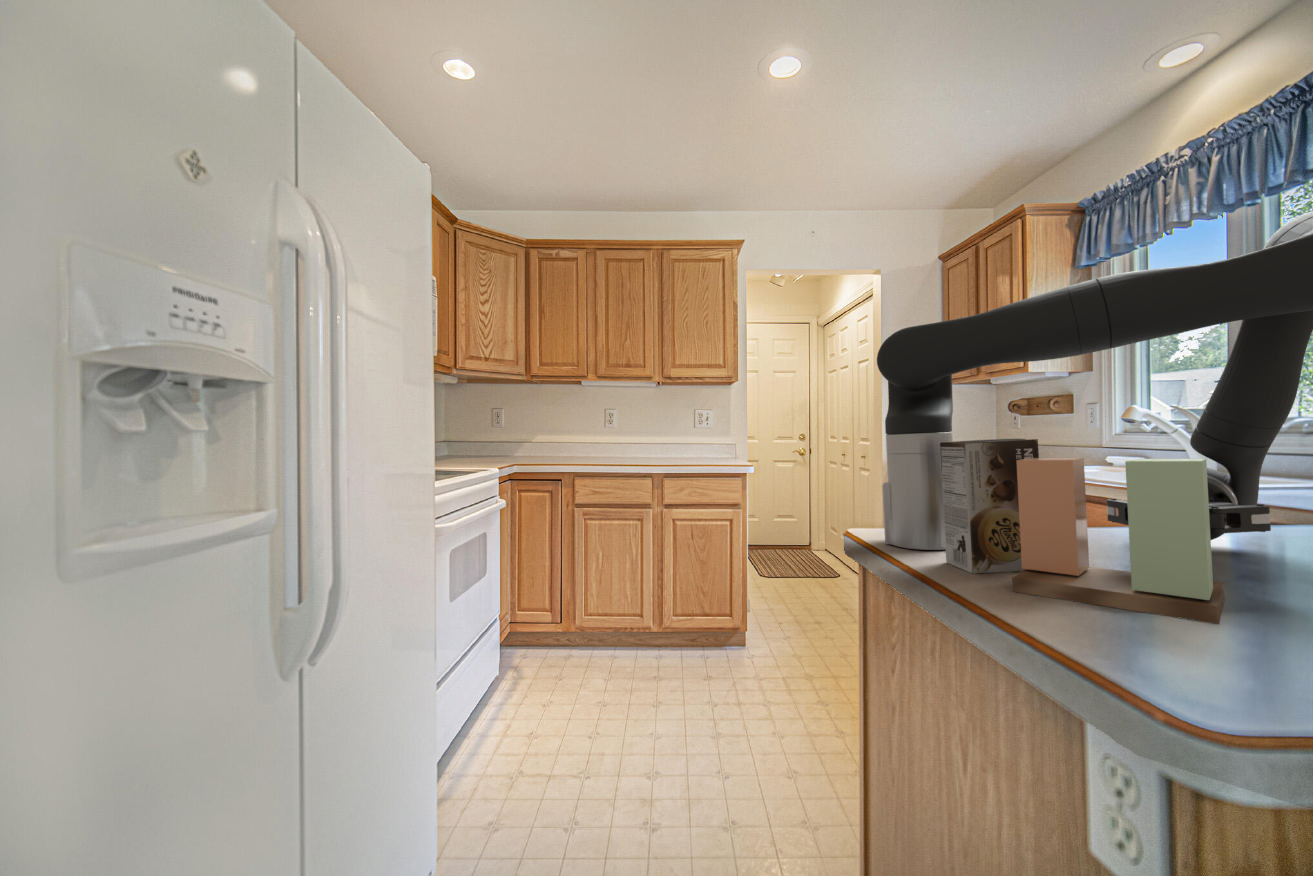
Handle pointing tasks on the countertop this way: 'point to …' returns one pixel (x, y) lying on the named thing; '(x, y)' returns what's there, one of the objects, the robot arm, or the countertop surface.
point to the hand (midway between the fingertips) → (1172, 524)
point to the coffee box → (983, 503)
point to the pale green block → (1169, 527)
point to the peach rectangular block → (1053, 515)
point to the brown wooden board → (1118, 593)
